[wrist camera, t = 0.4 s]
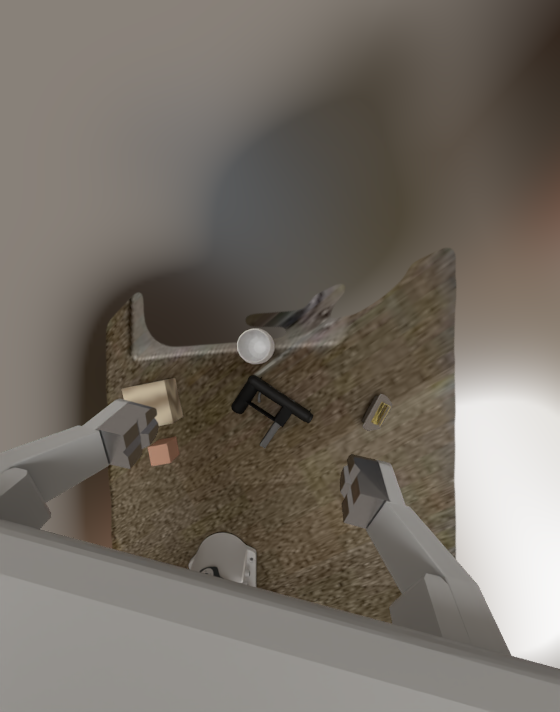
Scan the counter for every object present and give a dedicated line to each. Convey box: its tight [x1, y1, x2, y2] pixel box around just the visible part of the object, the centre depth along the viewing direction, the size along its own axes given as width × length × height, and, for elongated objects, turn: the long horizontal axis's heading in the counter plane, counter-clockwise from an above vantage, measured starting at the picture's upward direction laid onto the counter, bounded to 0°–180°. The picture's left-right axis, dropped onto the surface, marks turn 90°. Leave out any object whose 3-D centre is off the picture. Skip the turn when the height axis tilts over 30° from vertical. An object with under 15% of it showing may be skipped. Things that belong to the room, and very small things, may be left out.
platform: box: [362, 394, 392, 431], centre depth 59 cm, size 12×18×7 cm, turn 152°
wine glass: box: [237, 328, 274, 364], centre depth 51 cm, size 7×7×21 cm
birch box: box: [122, 378, 183, 426], centre depth 60 cm, size 11×11×6 cm
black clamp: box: [231, 375, 313, 448], centre depth 61 cm, size 3×20×16 cm
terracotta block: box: [148, 437, 179, 466], centre depth 60 cm, size 5×5×5 cm
